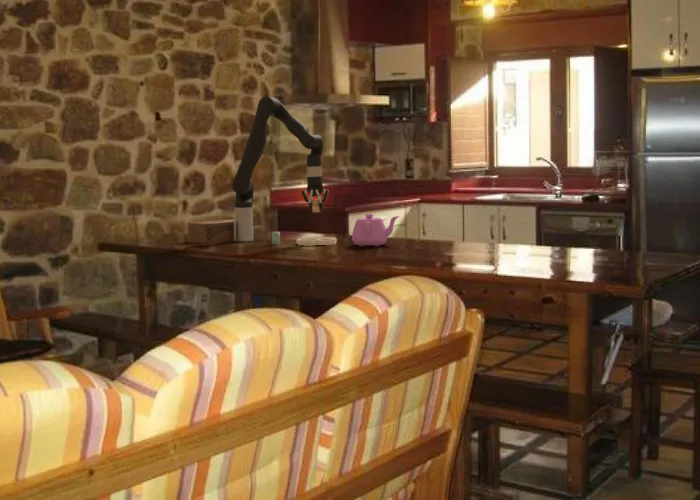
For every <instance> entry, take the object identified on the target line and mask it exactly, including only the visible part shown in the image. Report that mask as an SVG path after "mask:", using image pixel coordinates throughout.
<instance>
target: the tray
mask: <svg viewBox="0 0 700 500" xmlns="http://www.w3.org/2000/svg"><path fill="white" fill-rule="evenodd" d="M337 241H338V240H337V237H332V236H308V237H299V238H296V244H298V245H297V246H301V245H304V246H303V247H305V246H306V247H316V246H315V245H326V246H333V245H336V244H337ZM313 245H314V246H313Z"/></svg>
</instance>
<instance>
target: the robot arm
mask: <svg viewBox="0 0 700 500" xmlns="http://www.w3.org/2000/svg"><path fill="white" fill-rule="evenodd" d="M270 116H271V117H273V118H275V119H277V120H279V121H280V122H281V123H282V124H283V125H284V127H286V129H287V130H288V131H289V133H291V134H292V135H293V136H294V137H295V138H296V139H297V140H298V141H299V143H300V144H301V145H302V146H303V147H304V148H305V149H308V150H310V154H308V155H307V156H306V185H307V187H306V189H303V190H301V195H302V197H303V199H304V203H308V209H309V210H310V212H312V200H314V197H317V200H319V202H320V203H319V210H320V212H321V211H322V210H324V204H323V203H325V202H326V201H327V200H328V197H329V192H330V189H326V188H324V186H323V185H324V184H323V169H322V156H323V155H322V153H323V149H324V140H323V138H322V136H321V135H319V134H310V131H309V129H308V127H307V126H306V125H304V124H303V123H302V122H301V121H300V120H298V119H297V118H296V117H295V116H294V115H293V114H291V113H290V111H289V110H288V109H287V108H286V107H285V106H284V105H283V103H281V101H280V100H279V99H278V98H275V97H273V96H270V95H265V96H262V97H261V98H260V99H259V101H258V104H257V108H256V111H255V116H254V120H253V123H252V126H251V129H250V133H249V135H248V138H247V141H246V144H245V147H244V150H243V153H242V157H241V161H240V164H239V167H238V169H237V171H236V174H235V175H234V178H233V180H232V182H231V187H232V190H233V192H234V193H235V200H234V202H233V204H234V205H233V206H234V208H233V210H234V220H235V222H234V241H233V242H252V241H254V211H253V203H254V202H253V201H254V182H253V179H252V176H253V175H252V174H253V173H254V170H255V167H256V166H257V164H259V161H260V159H261V157H262V156H263V153H264V151H265V148H266V145H267V144H266V143H267V123H268V122H269V117H270ZM307 193H308V194H309V197H308V196H307ZM322 193H323V194H324V195H323V196H322Z"/></svg>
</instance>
